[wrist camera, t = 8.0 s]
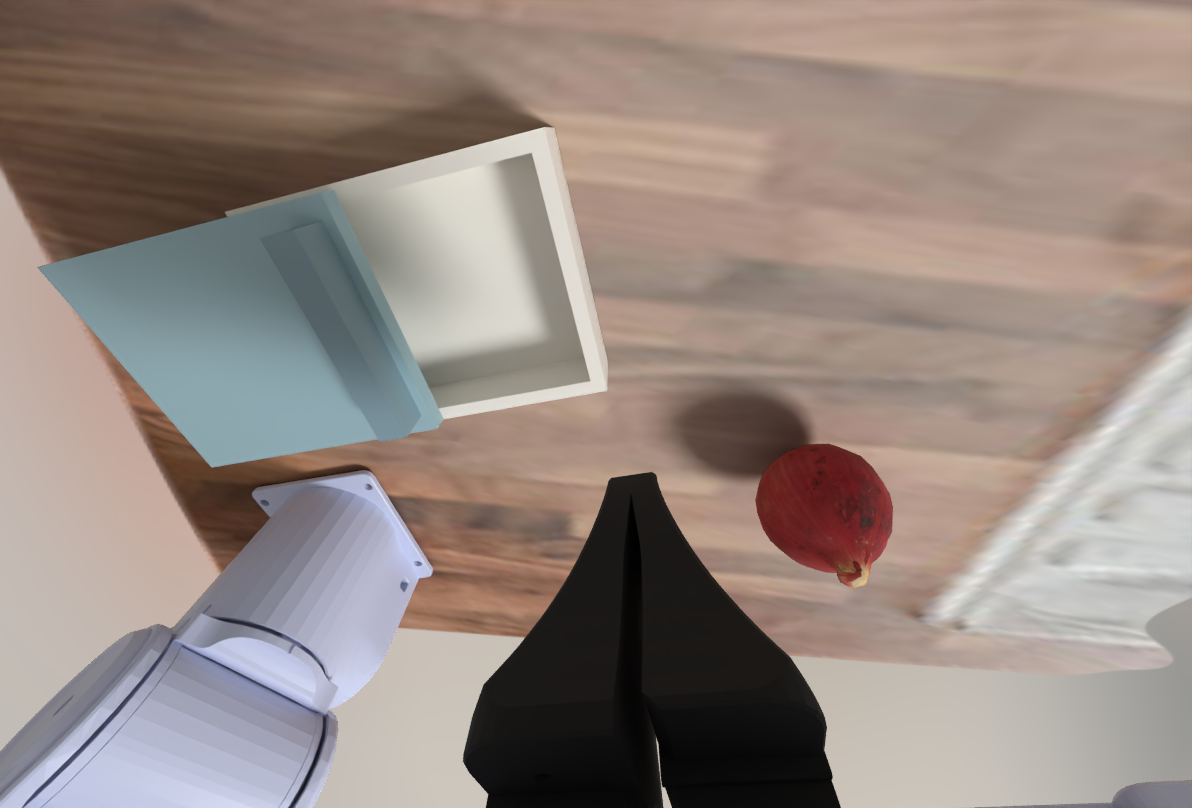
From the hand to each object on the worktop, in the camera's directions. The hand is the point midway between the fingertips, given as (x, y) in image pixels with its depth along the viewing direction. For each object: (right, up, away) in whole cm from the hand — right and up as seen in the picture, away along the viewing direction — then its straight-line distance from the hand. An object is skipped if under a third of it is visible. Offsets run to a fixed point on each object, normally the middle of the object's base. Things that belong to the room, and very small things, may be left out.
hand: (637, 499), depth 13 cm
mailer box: (-8, +8, +7) cm, 13 cm away
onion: (+10, 0, +12) cm, 15 cm away
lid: (-15, +5, +5) cm, 17 cm away
